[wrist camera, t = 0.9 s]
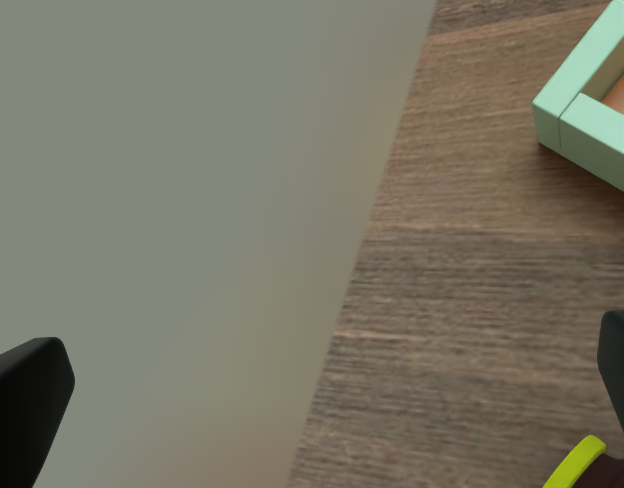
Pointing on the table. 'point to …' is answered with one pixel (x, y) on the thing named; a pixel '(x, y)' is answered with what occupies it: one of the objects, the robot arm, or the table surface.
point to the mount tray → (589, 101)
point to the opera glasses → (588, 468)
